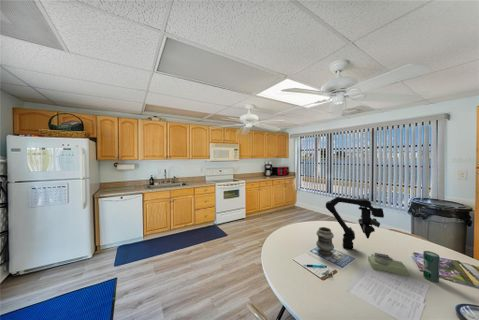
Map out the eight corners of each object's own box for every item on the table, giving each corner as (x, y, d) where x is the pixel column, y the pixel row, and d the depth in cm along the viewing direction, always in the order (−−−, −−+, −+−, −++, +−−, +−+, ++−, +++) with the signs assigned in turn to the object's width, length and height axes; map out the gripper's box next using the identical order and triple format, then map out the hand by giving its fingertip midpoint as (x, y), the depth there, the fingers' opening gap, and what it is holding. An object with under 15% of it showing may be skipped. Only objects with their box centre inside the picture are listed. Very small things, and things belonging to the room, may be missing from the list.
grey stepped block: (376, 261, 118) (376, 255, 118) (374, 257, 123) (374, 251, 123) (389, 263, 115) (389, 257, 115) (386, 259, 120) (386, 253, 120)
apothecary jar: (315, 254, 127) (315, 230, 127) (316, 246, 138) (316, 224, 138) (334, 258, 121) (334, 233, 121) (333, 250, 132) (333, 227, 132)
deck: (372, 268, 111) (372, 261, 110) (365, 256, 124) (365, 250, 124) (408, 275, 103) (408, 268, 103) (397, 262, 117) (397, 256, 117)
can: (422, 273, 105) (422, 249, 105) (437, 278, 101) (437, 253, 101) (424, 279, 100) (424, 254, 100) (440, 284, 96) (440, 257, 96)
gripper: (383, 221, 119) (383, 243, 119) (374, 213, 136) (374, 232, 136) (364, 219, 123) (364, 240, 123) (358, 211, 140) (358, 230, 140)
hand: (365, 235), depth 131 cm, fingers open, 9 cm apart
